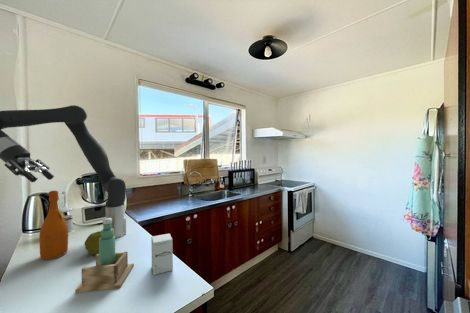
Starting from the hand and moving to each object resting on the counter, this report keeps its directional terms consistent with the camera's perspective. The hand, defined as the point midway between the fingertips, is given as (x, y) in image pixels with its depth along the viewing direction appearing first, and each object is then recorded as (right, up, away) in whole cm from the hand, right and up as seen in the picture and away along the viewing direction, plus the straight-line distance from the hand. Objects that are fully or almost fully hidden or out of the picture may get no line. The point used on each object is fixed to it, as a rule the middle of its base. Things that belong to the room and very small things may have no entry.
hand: (44, 179), depth 80 cm
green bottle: (+29, -35, -5) cm, 46 cm away
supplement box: (+47, -36, 0) cm, 60 cm away
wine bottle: (-7, -37, +12) cm, 40 cm away
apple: (+12, -37, +14) cm, 41 cm away
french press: (-26, -37, +40) cm, 60 cm away
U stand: (+29, -36, -5) cm, 47 cm away
